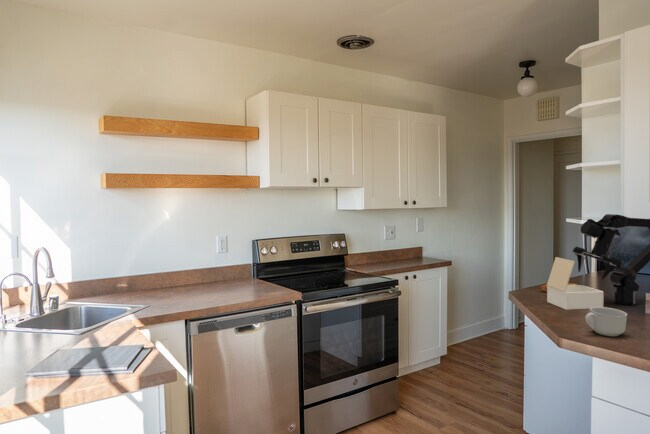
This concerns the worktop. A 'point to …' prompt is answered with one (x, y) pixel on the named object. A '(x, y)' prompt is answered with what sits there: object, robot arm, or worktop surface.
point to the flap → (560, 273)
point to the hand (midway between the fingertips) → (590, 275)
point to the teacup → (606, 321)
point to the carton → (575, 297)
